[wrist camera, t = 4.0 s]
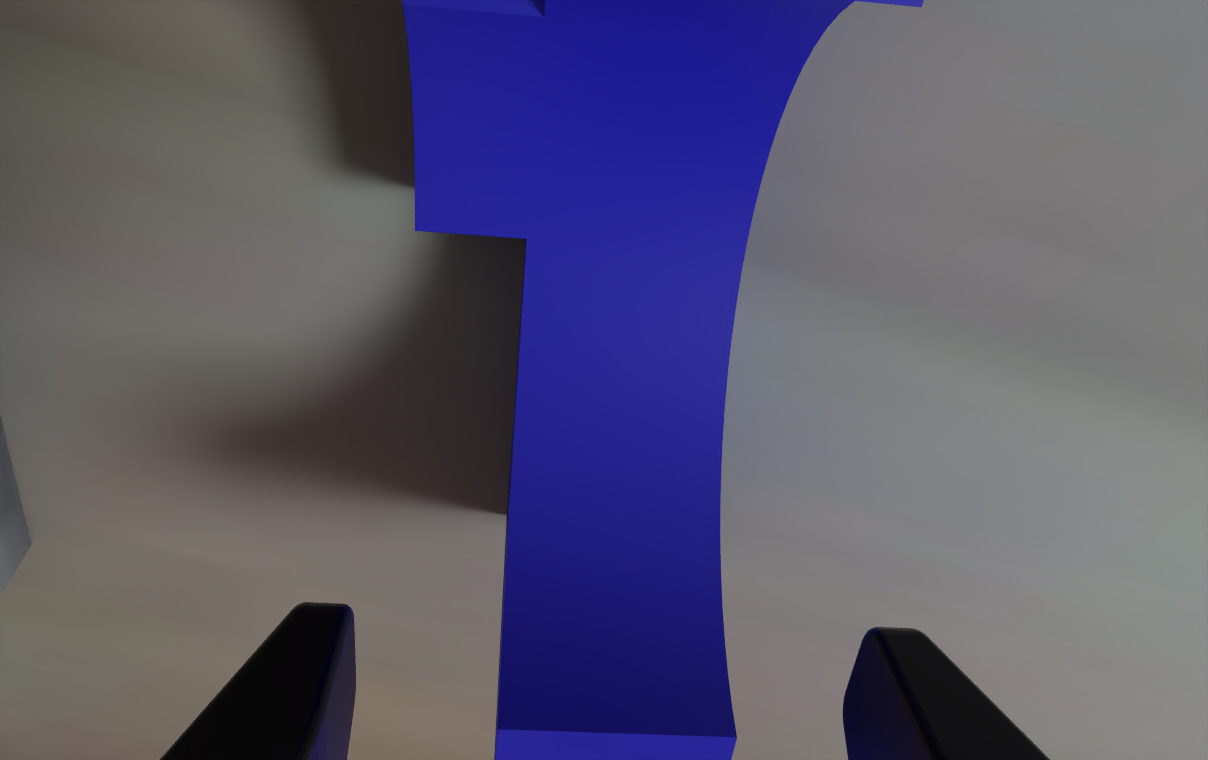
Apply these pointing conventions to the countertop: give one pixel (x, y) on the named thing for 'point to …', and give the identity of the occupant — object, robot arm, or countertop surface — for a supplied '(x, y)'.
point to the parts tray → (10, 519)
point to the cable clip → (611, 332)
